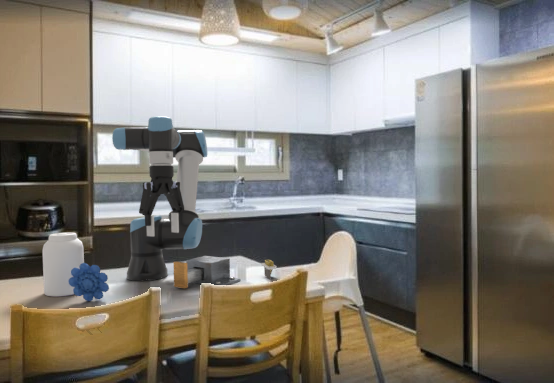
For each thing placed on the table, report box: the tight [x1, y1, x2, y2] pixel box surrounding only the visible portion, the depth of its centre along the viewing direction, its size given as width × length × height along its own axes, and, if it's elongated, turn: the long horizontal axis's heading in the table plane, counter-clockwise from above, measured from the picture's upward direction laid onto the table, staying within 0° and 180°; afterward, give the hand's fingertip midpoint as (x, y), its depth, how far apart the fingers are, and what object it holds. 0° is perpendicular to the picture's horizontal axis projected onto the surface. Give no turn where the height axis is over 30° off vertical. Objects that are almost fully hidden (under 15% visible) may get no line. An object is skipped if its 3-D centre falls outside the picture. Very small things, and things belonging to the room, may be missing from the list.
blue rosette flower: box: [68, 262, 110, 302], centre depth 137 cm, size 12×7×12 cm, turn 104°
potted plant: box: [260, 259, 277, 281], centre depth 166 cm, size 12×18×7 cm, turn 16°
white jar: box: [42, 232, 85, 298], centre depth 149 cm, size 12×12×20 cm
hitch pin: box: [172, 260, 204, 289], centre depth 156 cm, size 5×16×8 cm, turn 147°
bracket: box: [185, 255, 241, 286], centre depth 162 cm, size 20×12×8 cm, turn 57°
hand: (163, 234), depth 144 cm, fingers open, 10 cm apart
